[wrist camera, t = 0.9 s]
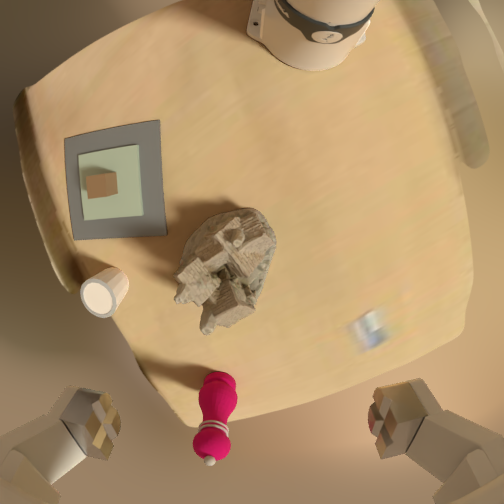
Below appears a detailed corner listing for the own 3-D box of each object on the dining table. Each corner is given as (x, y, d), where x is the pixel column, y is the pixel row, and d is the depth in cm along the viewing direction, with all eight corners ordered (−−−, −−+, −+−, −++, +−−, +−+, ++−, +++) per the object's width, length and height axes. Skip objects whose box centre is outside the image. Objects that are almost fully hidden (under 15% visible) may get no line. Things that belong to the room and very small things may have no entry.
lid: (80, 155, 41) (65, 155, 36) (138, 144, 41) (126, 143, 36) (86, 219, 44) (71, 225, 40) (143, 214, 44) (132, 220, 39)
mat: (65, 139, 40) (64, 139, 40) (160, 120, 40) (159, 120, 40) (75, 239, 46) (74, 240, 45) (167, 234, 45) (166, 235, 45)
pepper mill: (194, 382, 54) (176, 462, 35) (217, 363, 53) (204, 447, 34) (222, 400, 56) (213, 479, 37) (245, 382, 54) (243, 466, 35)
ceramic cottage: (211, 322, 50) (201, 374, 35) (168, 235, 46) (138, 260, 31) (296, 288, 49) (318, 331, 34) (259, 195, 45) (268, 203, 31)
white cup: (118, 256, 47) (99, 271, 40) (139, 290, 48) (124, 309, 42) (92, 273, 48) (72, 289, 41) (112, 305, 49) (96, 323, 43)
